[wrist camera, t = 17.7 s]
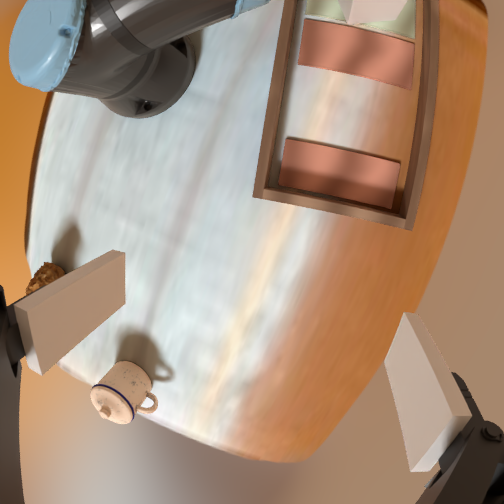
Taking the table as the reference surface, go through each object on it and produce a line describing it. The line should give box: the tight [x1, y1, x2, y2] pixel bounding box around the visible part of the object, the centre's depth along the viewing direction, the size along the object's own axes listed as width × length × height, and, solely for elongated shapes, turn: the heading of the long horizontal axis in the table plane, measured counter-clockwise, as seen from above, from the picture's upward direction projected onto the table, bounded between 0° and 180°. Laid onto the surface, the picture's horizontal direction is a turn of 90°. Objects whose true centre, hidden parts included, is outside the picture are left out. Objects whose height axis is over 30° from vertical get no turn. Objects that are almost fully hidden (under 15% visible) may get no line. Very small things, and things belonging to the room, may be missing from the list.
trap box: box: [253, 0, 439, 231], centre depth 33 cm, size 20×36×4 cm, turn 171°
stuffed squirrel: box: [26, 262, 65, 296], centre depth 46 cm, size 10×14×13 cm
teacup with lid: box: [90, 361, 158, 424], centre depth 49 cm, size 12×9×12 cm
